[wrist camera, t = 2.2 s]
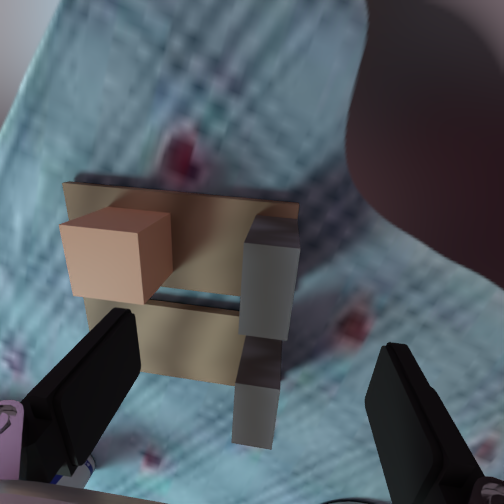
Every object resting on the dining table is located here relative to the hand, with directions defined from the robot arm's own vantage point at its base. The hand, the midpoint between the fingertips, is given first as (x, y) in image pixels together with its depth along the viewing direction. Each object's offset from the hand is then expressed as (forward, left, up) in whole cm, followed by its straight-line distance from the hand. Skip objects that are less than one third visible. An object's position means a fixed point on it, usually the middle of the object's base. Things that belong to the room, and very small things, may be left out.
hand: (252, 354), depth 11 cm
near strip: (+7, +1, -13) cm, 14 cm away
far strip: (+7, +11, -13) cm, 18 cm away
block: (+10, +1, -12) cm, 15 cm away
